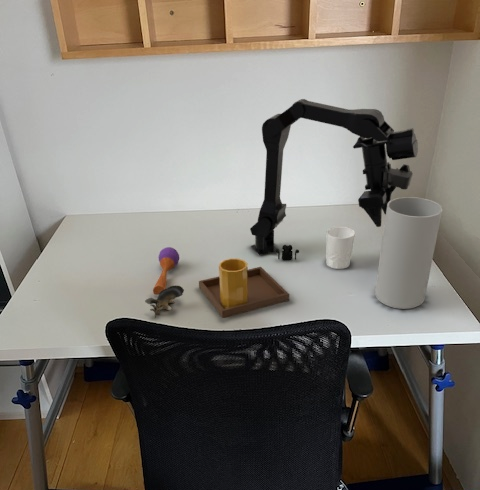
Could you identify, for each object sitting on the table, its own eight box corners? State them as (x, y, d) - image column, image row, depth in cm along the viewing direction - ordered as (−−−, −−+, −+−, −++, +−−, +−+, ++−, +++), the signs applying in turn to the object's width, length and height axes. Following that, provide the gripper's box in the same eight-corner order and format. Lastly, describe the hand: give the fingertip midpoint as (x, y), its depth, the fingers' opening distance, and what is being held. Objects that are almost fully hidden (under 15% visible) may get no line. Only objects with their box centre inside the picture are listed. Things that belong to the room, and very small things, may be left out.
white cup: (351, 271, 152) (354, 239, 147) (323, 269, 154) (325, 237, 148) (352, 258, 159) (355, 227, 153) (325, 256, 160) (327, 225, 155)
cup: (216, 300, 139) (214, 262, 133) (241, 294, 141) (240, 256, 135) (227, 313, 134) (225, 274, 128) (252, 306, 136) (251, 267, 130)
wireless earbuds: (275, 261, 158) (275, 245, 156) (275, 257, 160) (275, 242, 158) (298, 261, 158) (299, 246, 155) (298, 257, 160) (299, 242, 157)
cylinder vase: (366, 289, 144) (377, 200, 130) (407, 282, 146) (423, 194, 133) (389, 313, 134) (404, 220, 120) (433, 305, 136) (453, 213, 123)
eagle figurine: (173, 318, 132) (191, 296, 137) (155, 297, 129) (173, 274, 135) (155, 325, 137) (172, 302, 143) (137, 304, 134) (155, 282, 140)
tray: (199, 290, 145) (198, 281, 144) (260, 275, 152) (260, 266, 150) (222, 320, 133) (222, 311, 131) (288, 303, 139) (289, 293, 137)
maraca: (144, 283, 141) (157, 245, 156) (152, 301, 144) (163, 262, 160) (166, 280, 140) (177, 241, 155) (173, 298, 143) (182, 259, 159)
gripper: (399, 169, 126) (406, 231, 133) (414, 148, 140) (420, 205, 147) (353, 175, 131) (362, 234, 138) (372, 154, 145) (379, 209, 152)
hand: (383, 220), depth 144 cm, fingers open, 9 cm apart
